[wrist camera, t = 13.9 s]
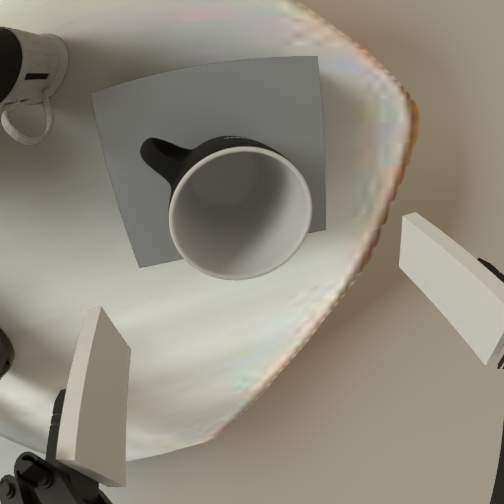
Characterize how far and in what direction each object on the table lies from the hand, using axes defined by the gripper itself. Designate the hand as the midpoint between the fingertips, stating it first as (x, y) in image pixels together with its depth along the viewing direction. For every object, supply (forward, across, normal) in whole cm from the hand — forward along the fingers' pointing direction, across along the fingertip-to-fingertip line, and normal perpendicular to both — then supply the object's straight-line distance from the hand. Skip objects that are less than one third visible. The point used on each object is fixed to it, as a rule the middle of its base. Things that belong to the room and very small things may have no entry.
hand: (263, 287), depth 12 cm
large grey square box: (+25, 0, +1) cm, 25 cm away
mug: (+17, -1, +1) cm, 17 cm away
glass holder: (+25, -16, +15) cm, 33 cm away
